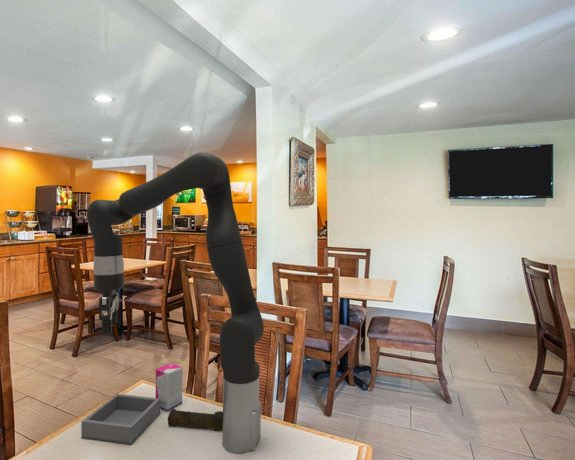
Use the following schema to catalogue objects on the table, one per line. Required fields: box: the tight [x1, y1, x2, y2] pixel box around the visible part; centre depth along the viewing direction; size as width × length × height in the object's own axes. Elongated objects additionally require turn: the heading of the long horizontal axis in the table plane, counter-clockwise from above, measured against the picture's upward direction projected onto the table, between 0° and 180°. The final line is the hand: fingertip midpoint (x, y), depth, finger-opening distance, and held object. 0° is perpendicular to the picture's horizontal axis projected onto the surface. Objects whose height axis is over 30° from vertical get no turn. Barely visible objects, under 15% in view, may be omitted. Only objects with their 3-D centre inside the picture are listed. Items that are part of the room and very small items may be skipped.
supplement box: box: [155, 362, 184, 412], centre depth 104 cm, size 6×6×12 cm
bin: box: [80, 393, 161, 446], centre depth 94 cm, size 14×14×4 cm
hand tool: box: [167, 408, 223, 432], centre depth 94 cm, size 19×4×5 cm, turn 80°
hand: (110, 329), depth 96 cm, fingers open, 8 cm apart
